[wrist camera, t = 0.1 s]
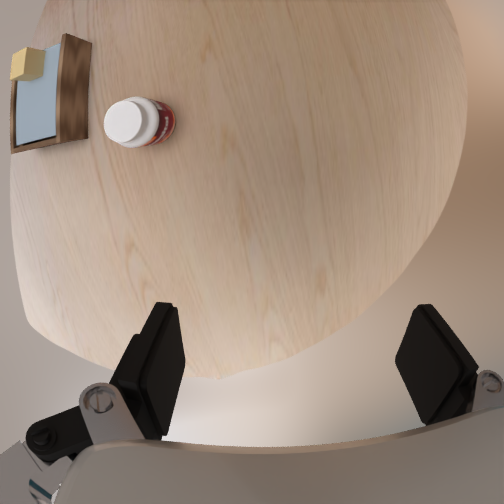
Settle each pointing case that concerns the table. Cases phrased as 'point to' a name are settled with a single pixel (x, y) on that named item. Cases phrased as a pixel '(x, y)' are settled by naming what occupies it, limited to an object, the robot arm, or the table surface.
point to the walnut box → (63, 96)
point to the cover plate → (35, 92)
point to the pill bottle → (139, 122)
